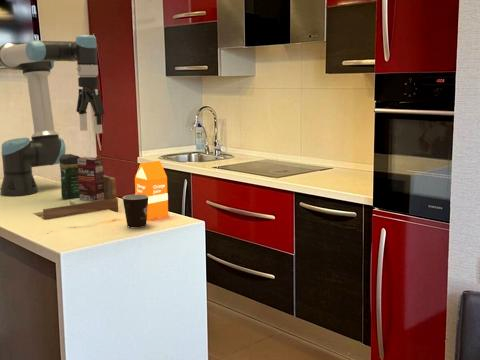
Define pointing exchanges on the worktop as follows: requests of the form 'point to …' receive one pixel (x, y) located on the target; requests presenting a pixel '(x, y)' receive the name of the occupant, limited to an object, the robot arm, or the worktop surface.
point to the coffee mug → (136, 209)
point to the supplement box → (90, 178)
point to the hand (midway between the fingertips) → (91, 131)
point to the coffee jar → (69, 176)
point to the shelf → (107, 203)
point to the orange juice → (153, 188)
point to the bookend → (78, 202)
